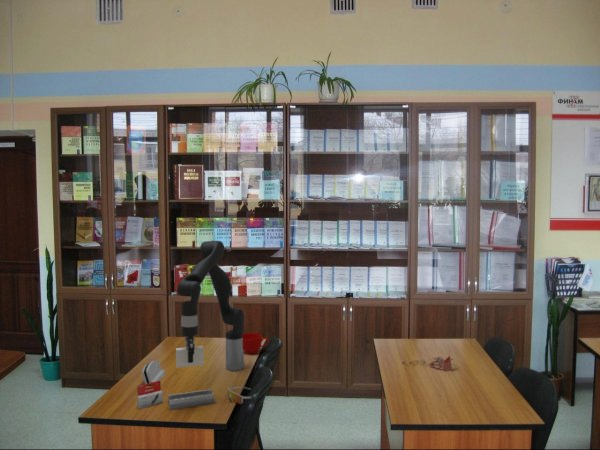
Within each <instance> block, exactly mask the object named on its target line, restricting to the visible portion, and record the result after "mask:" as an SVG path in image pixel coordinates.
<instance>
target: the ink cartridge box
mask: <svg viewBox="0 0 600 450" xmlns="http://www.w3.org/2000/svg"><path fill="white" fill-rule="evenodd" d="M161 381H162V380H160V381H156V382H152V383H148V384H145V383H144V384H140V385H137V387H136V388H137V392H136V393H137V395H136V396H137V397H136V398H137V400H136V401H137V402H136V403H137V404H136V406H137V408H138V409H143V408H145V407H151V406H154V405H157V404H161V403H164V402H163V401H164V398H163V397H164V396H163V391H162V386H161V385H162V384H161ZM149 385H150V386H149ZM147 386H149V387H147Z"/></svg>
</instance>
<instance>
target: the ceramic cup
mask: <svg viewBox="0 0 600 450" xmlns="http://www.w3.org/2000/svg"><path fill="white" fill-rule="evenodd" d="M264 340H266V341H267V342H266V343H265V344H263V345H262V342H263V341H264ZM268 344H269V338H267V337H263V335H262V334H260V333H258V332H247V333H243V351H244V353H246V354H248V355H255V354H256V353H258V352H259V350H261V349H260V348H262V347H266V346H267V345H268Z"/></svg>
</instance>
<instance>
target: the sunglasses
mask: <svg viewBox="0 0 600 450" xmlns="http://www.w3.org/2000/svg"><path fill="white" fill-rule="evenodd" d="M235 389H244V390H249V391H251V388H250V387H246V386H235V387H234V386H233V387H228V388H227V396H228V400H231V402H232V403H236V404H239V405H242V404H243V403H244V400H248V399H252V398H251V397H252V396H243V395H241V394H238V393H237V392H234V391H233V390H235Z"/></svg>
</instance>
